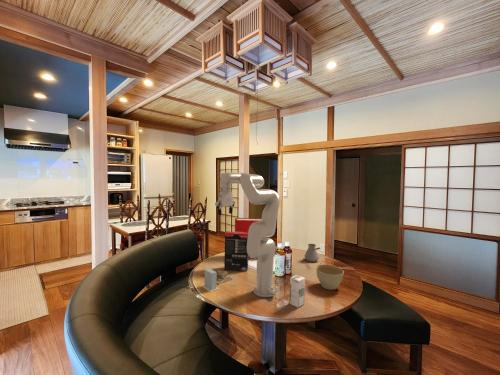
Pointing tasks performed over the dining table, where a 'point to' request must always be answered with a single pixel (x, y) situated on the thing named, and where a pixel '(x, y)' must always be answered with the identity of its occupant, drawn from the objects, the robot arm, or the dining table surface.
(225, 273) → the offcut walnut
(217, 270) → the rack
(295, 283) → the syrup box
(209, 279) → the panel
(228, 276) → the offcut oak
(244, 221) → the book
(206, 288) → the mat
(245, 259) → the graphics card box
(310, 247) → the coffee pot
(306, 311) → the dining table surface
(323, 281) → the planter bowl
